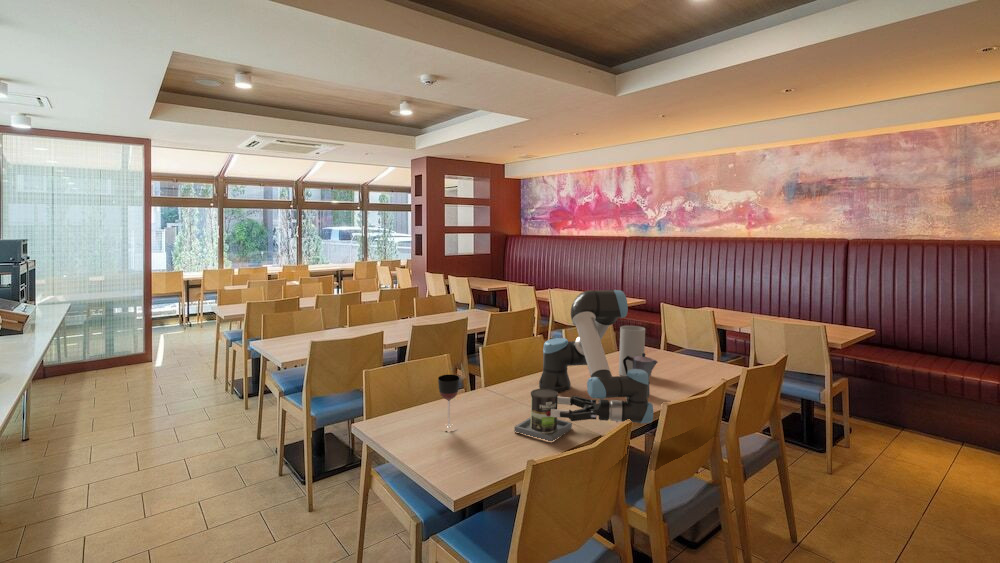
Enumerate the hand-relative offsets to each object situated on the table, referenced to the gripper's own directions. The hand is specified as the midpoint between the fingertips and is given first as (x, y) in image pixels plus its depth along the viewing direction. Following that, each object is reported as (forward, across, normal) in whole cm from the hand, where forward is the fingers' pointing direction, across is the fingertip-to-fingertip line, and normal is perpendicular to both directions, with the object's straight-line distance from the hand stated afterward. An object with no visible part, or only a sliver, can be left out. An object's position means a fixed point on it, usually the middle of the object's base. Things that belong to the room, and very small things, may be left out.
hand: (552, 406), depth 191 cm
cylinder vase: (-36, +80, -10) cm, 89 cm away
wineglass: (+39, -4, -10) cm, 41 cm away
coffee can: (+3, 0, -9) cm, 10 cm away
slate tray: (+3, 0, -10) cm, 11 cm away
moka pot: (-37, +49, -10) cm, 62 cm away
